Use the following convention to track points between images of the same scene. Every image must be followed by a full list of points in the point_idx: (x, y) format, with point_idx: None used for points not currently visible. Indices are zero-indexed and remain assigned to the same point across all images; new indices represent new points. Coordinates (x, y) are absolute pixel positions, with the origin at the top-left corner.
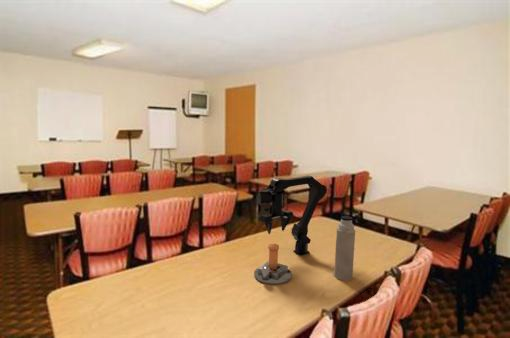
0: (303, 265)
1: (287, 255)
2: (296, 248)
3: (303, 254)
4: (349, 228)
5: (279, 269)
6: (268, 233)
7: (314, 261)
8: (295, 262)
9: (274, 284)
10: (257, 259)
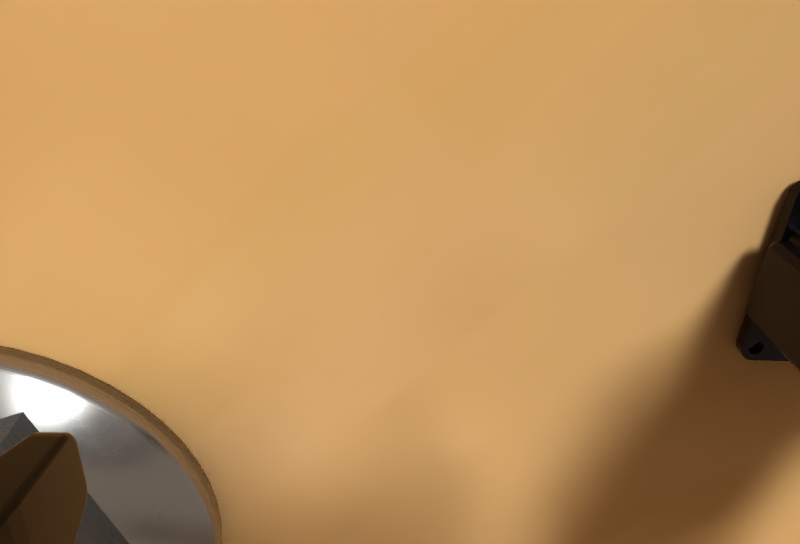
0: (488, 526)
1: (591, 227)
2: (795, 313)
3: (776, 355)
4: None
5: None
6: (29, 457)
7: (679, 524)
8: (480, 438)
9: None
10: (29, 42)
